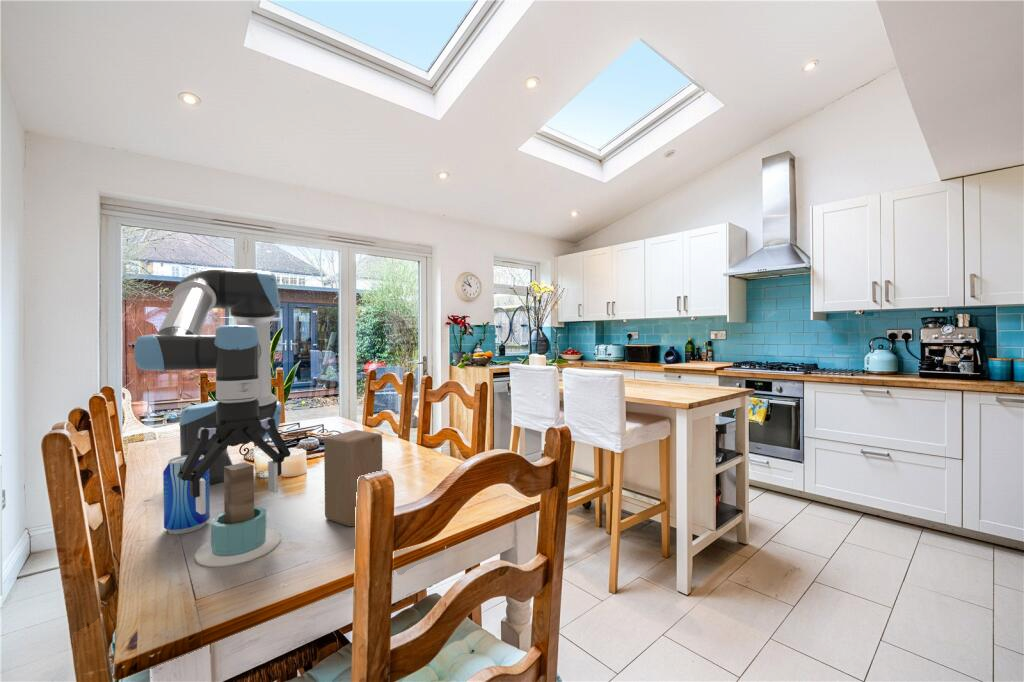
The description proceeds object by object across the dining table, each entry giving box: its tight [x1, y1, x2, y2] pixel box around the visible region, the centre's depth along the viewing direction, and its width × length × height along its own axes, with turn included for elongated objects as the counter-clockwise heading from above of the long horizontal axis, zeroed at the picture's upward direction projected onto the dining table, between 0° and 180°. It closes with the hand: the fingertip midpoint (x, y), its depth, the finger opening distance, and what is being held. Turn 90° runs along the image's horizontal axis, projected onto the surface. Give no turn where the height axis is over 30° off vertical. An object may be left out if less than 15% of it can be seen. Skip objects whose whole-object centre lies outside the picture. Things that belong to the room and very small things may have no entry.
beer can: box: [162, 455, 211, 535], centre depth 98 cm, size 8×8×16 cm
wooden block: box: [323, 429, 383, 528], centre depth 104 cm, size 10×10×20 cm
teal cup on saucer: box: [194, 506, 281, 568], centre depth 89 cm, size 15×15×7 cm
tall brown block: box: [223, 461, 255, 524], centre depth 89 cm, size 4×4×15 cm
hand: (239, 501), depth 89 cm, fingers open, 13 cm apart
